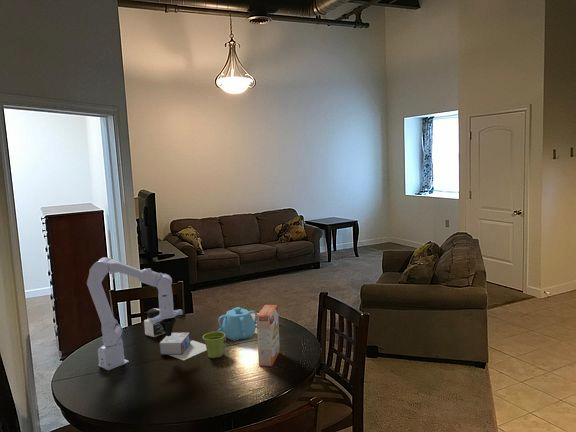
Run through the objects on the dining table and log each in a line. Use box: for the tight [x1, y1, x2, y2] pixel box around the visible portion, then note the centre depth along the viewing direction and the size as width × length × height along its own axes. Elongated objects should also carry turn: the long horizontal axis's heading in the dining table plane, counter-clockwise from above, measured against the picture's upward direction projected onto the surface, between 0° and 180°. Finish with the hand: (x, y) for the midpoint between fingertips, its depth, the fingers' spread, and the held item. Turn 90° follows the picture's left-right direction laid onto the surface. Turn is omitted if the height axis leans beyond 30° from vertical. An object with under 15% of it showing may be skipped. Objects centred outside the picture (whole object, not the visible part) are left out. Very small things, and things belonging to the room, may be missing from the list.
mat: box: [166, 339, 207, 361], centre depth 207 cm, size 16×14×1 cm
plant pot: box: [202, 331, 226, 359], centre depth 200 cm, size 9×9×9 cm
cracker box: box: [256, 304, 280, 367], centre depth 192 cm, size 14×6×21 cm, turn 168°
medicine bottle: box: [143, 307, 165, 338], centre depth 228 cm, size 7×7×12 cm
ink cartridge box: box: [159, 332, 191, 355], centre depth 209 cm, size 10×6×14 cm
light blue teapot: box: [217, 306, 258, 342], centre depth 220 cm, size 16×16×14 cm
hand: (168, 335), depth 198 cm, fingers closed
